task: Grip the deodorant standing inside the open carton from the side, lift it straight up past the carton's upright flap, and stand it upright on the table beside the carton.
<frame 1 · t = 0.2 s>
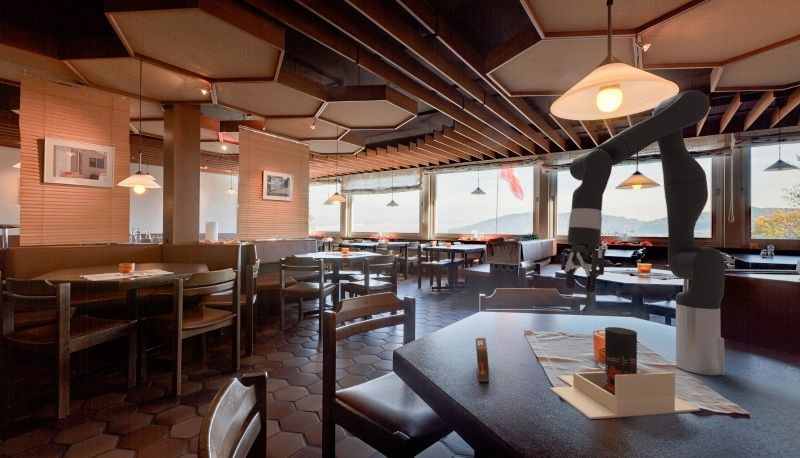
hand: (579, 289, 90), 22 cm above the table, tool pointing down, fingers open, 8 cm apart
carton: (620, 399, 76), on the table
deodorant: (620, 400, 76), resting in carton
thin brown box: (481, 375, 89), on the table
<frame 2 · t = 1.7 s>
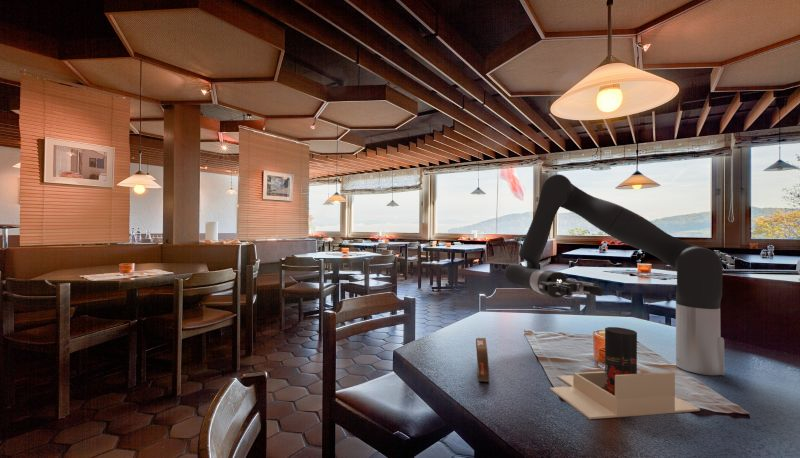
hand: (586, 291, 87), 22 cm above the table, tool horizontal, fingers open, 8 cm apart
nothing on the table moved.
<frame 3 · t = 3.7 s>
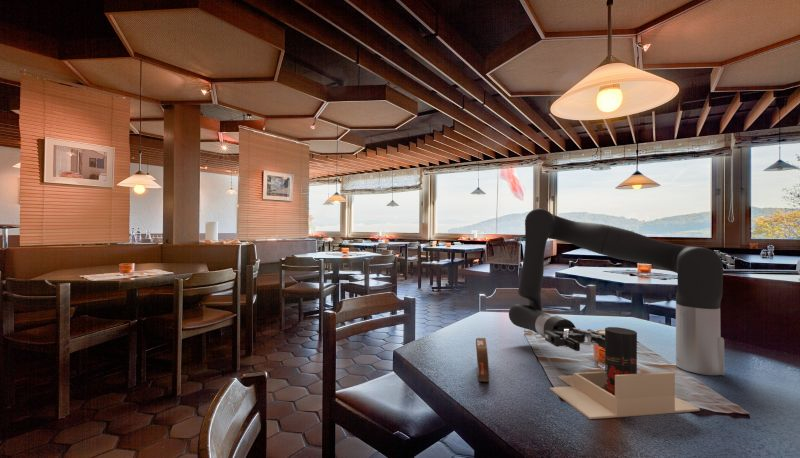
hand: (594, 346, 84), 9 cm above the table, tool horizontal, fingers open, 8 cm apart
nothing on the table moved.
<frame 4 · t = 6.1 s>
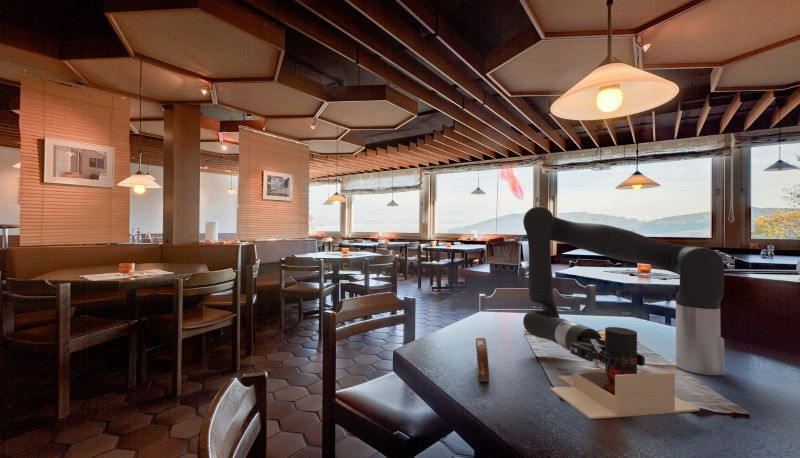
hand: (629, 361, 74), 9 cm above the table, tool horizontal, fingers closed on deodorant, 6 cm apart
deodorant: (620, 400, 76), resting in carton, touching gripper
everything else where it was.
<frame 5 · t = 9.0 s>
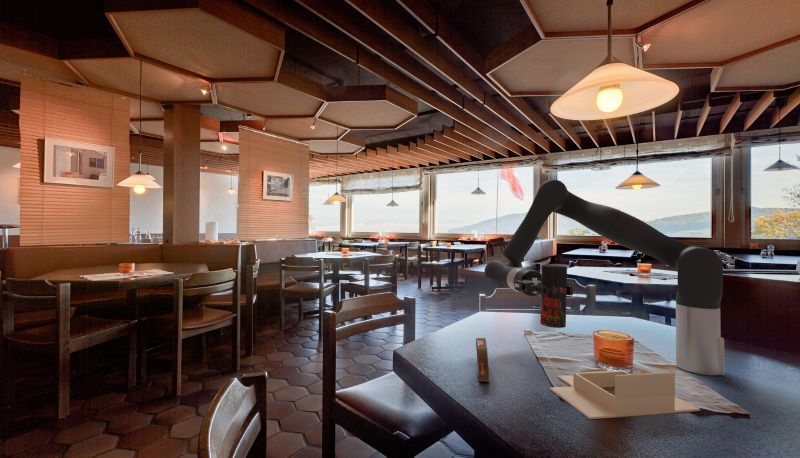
hand: (559, 291, 87), 22 cm above the table, tool horizontal, fingers closed on deodorant, 6 cm apart
deodorant: (552, 325, 89), point 13 cm above the table, touching gripper
everything else where it was.
when the fingers open (10 cm above the table, at t = 12.0 s): deodorant drops 1 cm, on the table.
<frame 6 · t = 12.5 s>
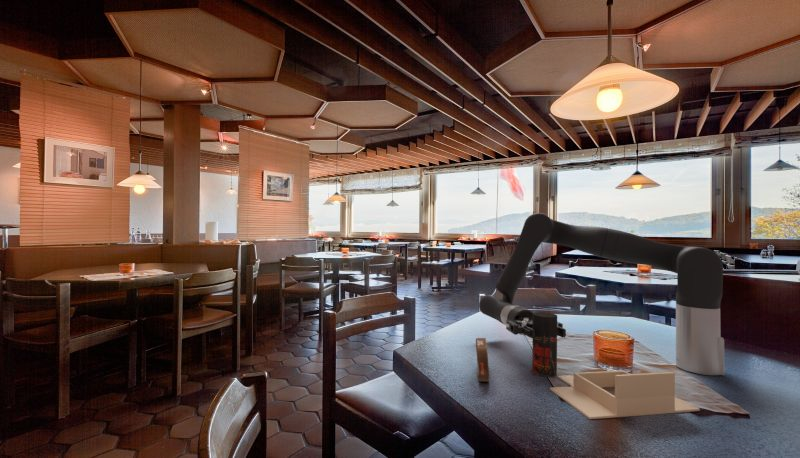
hand: (549, 333, 89), 10 cm above the table, tool horizontal, fingers open, 8 cm apart
deodorant: (544, 373, 91), on the table
everything else where it was.
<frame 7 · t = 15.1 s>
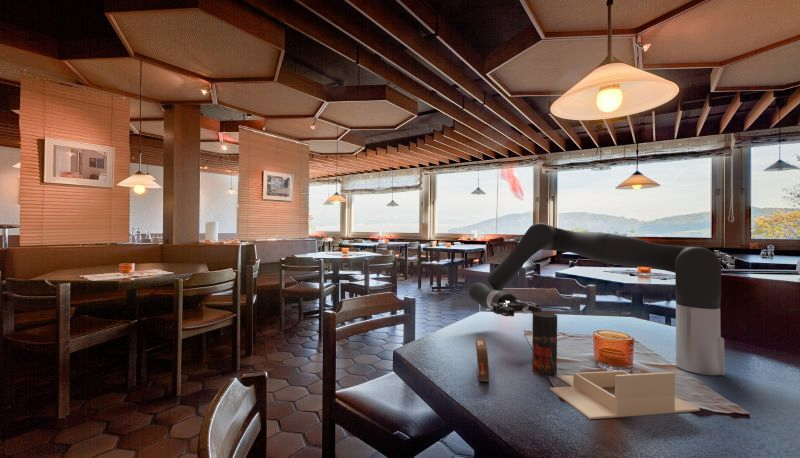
hand: (526, 312, 102), 13 cm above the table, tool horizontal, fingers open, 8 cm apart
nothing on the table moved.
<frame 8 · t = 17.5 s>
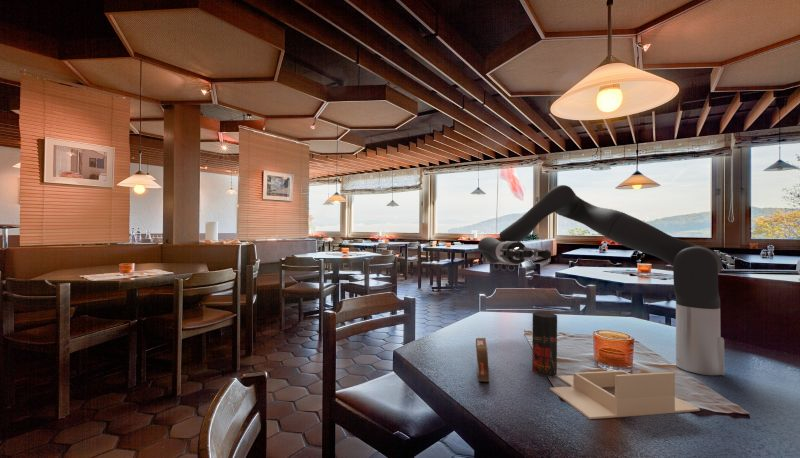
hand: (536, 254, 104), 30 cm above the table, tool horizontal, fingers open, 8 cm apart
nothing on the table moved.
at the end: deodorant inside the target area (0.1 cm from its centre), on the table; deodorant tilted 0°; the gripper is holding nothing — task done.
